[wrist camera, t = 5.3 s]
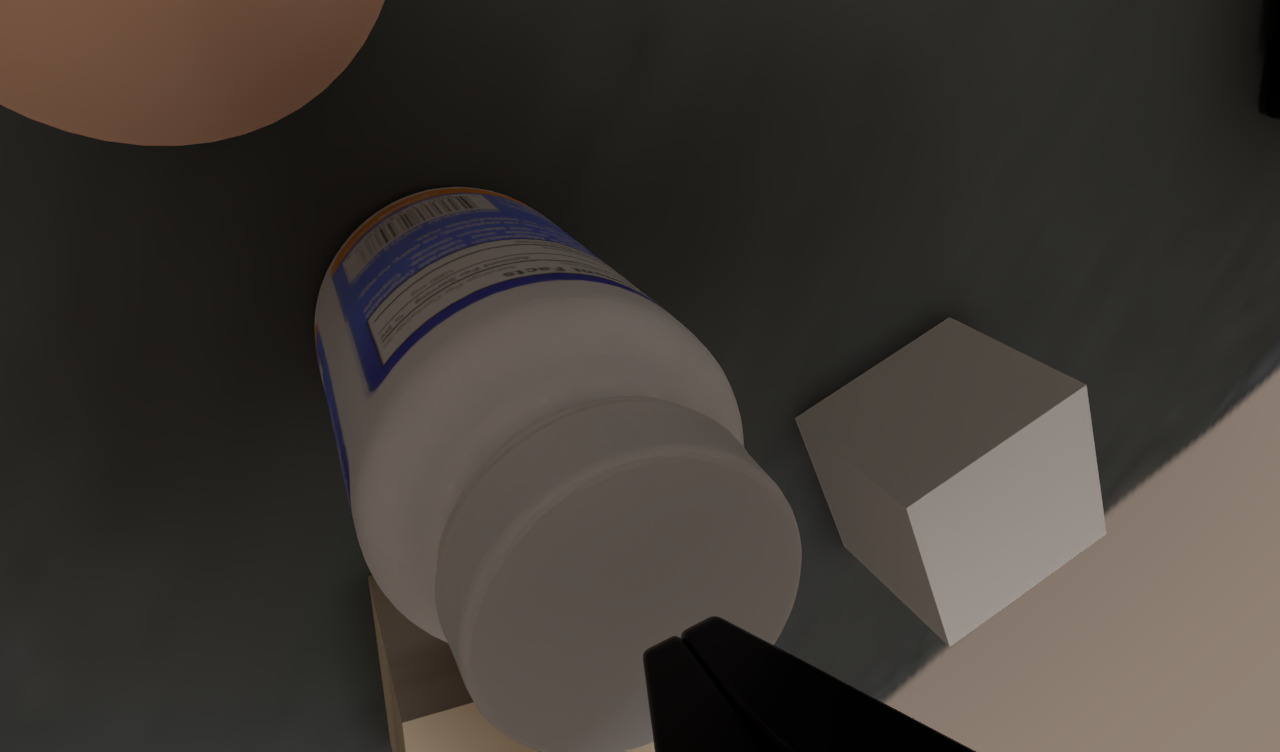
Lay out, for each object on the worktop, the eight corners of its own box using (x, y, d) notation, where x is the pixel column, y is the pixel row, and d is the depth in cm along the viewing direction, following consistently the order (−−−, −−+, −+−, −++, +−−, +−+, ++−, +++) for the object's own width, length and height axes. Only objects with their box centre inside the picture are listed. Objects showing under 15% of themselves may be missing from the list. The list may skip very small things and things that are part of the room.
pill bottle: (537, 451, 19) (759, 799, 11) (280, 416, 17) (332, 838, 9) (615, 219, 18) (934, 430, 10) (347, 141, 15) (484, 342, 7)
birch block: (582, 525, 21) (660, 648, 17) (583, 682, 23) (653, 822, 19) (367, 573, 19) (401, 723, 15) (389, 740, 21) (425, 907, 17)
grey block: (946, 315, 23) (1086, 384, 19) (978, 450, 26) (1106, 533, 22) (792, 416, 22) (906, 508, 18) (841, 543, 25) (950, 646, 21)
